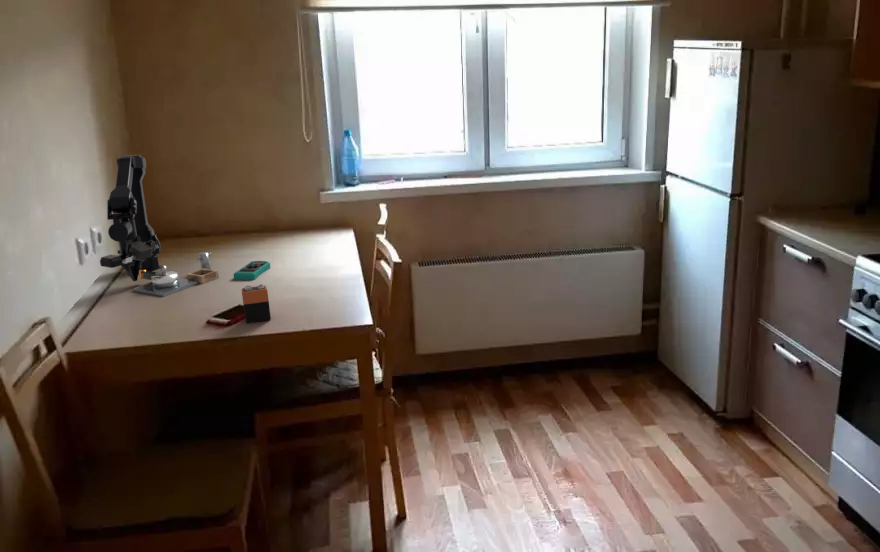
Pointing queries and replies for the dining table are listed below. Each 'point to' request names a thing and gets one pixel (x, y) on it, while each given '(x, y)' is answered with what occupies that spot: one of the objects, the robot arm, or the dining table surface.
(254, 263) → the digital multimeter
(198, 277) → the key socket
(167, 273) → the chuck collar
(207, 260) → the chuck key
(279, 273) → the dining table surface
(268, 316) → the battery
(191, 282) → the chuck base
